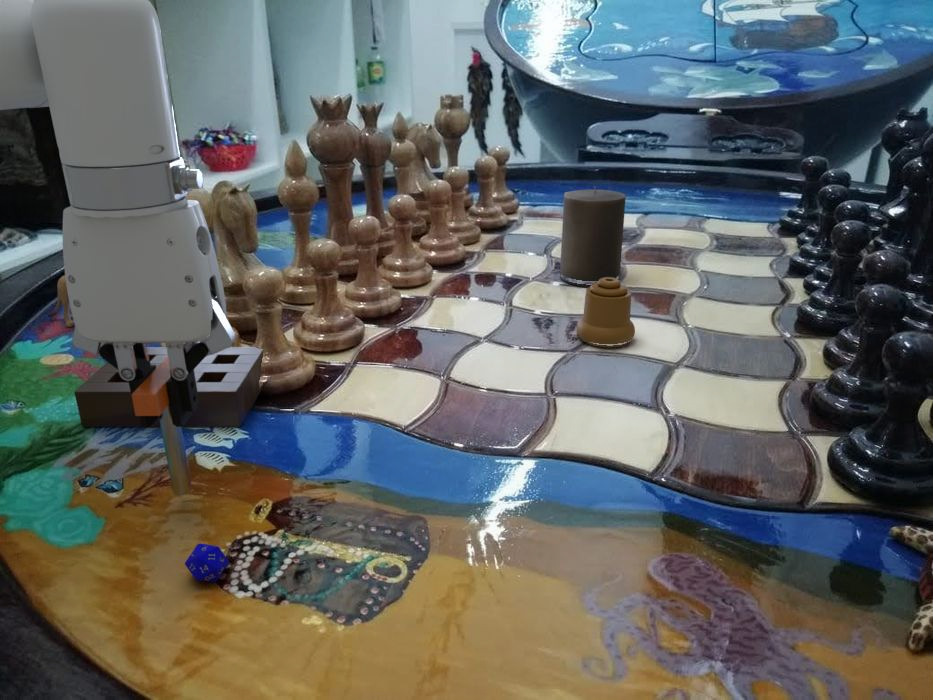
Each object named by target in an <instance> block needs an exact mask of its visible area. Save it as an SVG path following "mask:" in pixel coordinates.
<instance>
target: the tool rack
mask: <svg viewBox="0 0 933 700" xmlns="http://www.w3.org/2000/svg"><path fill="white" fill-rule="evenodd" d="M256 347H257V346H247V347H246V346H240V347H239V346H233V347H232V346H231V347H229V348H227V349H225V350H222V351H220V352H217V353H215V354H211V355H209V356H206V357H205V358H204V359H203V360H202V361H201V362H200V363H199V364H198V365H197V366H196V367H195V369H194V374H195V380H196V386H197V392H198V398H199V405H198V408H197V410H196V411H195V412H194V413H193V414H192V415H191V417H190V418H189V419H188V421H187V422H186V424H185V425H184V426H183V427H182V428H241V426H242V425H243V424H244V422H245V420H246V418H247V416H248V415H249V413H250V411H251V409H252V407H253V406H254V405H255V403H256V402H257V399H258V397H259V395H260V394H261V392H262V391H263V390H264V387H265V386H266V383H263V385H262V386H261V388H260V390H259V380H260V377H261V363H262V358H263V349H258V348H256ZM147 350H148V355H149V362H150V363H151V365H156V368H157V367H158V366H159V365H160V364H161V363H162V361H163V360H164V359H165V358H166V357H168V353H167V347H164V346H162V347H160V346H157V347H155V346H152V347H151V346H149V347H148V346H147ZM74 397H75V402H76V405H77V410H78V414H79V418H80V424H81V427H82V428H143V427H142V426H141V422H140V417H139V416H136V415H135V410H134V406H133V401H132V396H131V391H130V386H129V381H126V380H124V379H122V378H121V376H120V374H119V370H118V369H116V368H115V367H114V366H112V365H111V364H110V363H108V362H107V361H106V362H105V364H103V365H102V366H101V367H100V368H99V369H97V371H95V372H94V373H93V374H92V375H91V376H90V377H89V378H88V379H87V380H86V381H84V382H83V383H82V384H81V385H80V386H78V388H76V389H75V390H74ZM149 428H161V426H160V420H159V418H158V419H157V420H156V421H155V422H154V424H153V425H151V426H150V427H149Z"/></svg>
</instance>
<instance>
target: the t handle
mask: <svg viewBox="0 0 933 700" xmlns="http://www.w3.org/2000/svg"><path fill="white" fill-rule="evenodd" d="M170 378H171V375H170V365H169V359H168V357H166V358H165V359H164V360H163V361H162V363H161V364H160V365H159V366H158V367H157V368H156V369H155V370H154V371H153V372H152V373H151V374H150V375H149V376H148V377H147V379H146V380H145V381H144V382H143V383H142V384H141V385H140V386H139V387H138V388H137V389H136V390H135V391H134V392H133V393H132V400H133V405H134V410H135V415H136V416H159V420H160V426H161V427H160V430H161V435H162V436H161V437H162V441H163V446H164V453H165V458H166V463H167V467H168V472H169V477H170V483H171V489H172V493H173V494H174V495H175V496H185V495H188V494H190V492H191V491H192V490H193V486H192V480H191V474H190V469H189V462H188V456H187V451H186V446H185V439H184V435H183V429H182V428H183V427H176V426H175V425H173V423H172V417H171V412H170V406H169V398H168V392H167V387H166V384H167V381H168V380H169V379H170Z"/></svg>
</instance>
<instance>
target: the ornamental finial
mask: <svg viewBox="0 0 933 700" xmlns="http://www.w3.org/2000/svg"><path fill="white" fill-rule="evenodd" d="M584 297H585V298H584V307H583V314H582V315H583V316H582V317H581V318H580V319H579V320H578V322H577V324H576V333H577V336H578V335H579V336H578V337H579V339H580V340H581V341H582V342H584V343H586V344H588V345H590V346H593V347H597V348H598V347H599V348H607V349H609V348H610V349H611V348H620V347H623V346H626V345H627V344H630V342H631V341H632V340H633V339H634V337H635V334H636V327H635V325H634V322H633V321H632V319H631V311H632V310H631V307H632V291H631V290H630V289H629V288H628V287H627V285H625V284H624V283H621V280H620V279H619V280H618V279H616V278H611V277H605V278H601V279H599V281H598V282H595V283H593V284H592V285H591V287H586V290H585V296H584ZM581 338H582V339H581ZM632 338H633V339H632ZM584 340H586V341H584ZM630 340H631V341H630ZM587 341H588V342H587ZM628 341H630V342H628ZM589 342H593V343H599V344H618V343H624V342H628V343H625V344H622V345H613V346H607V345H597V344H593V343H589Z"/></svg>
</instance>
